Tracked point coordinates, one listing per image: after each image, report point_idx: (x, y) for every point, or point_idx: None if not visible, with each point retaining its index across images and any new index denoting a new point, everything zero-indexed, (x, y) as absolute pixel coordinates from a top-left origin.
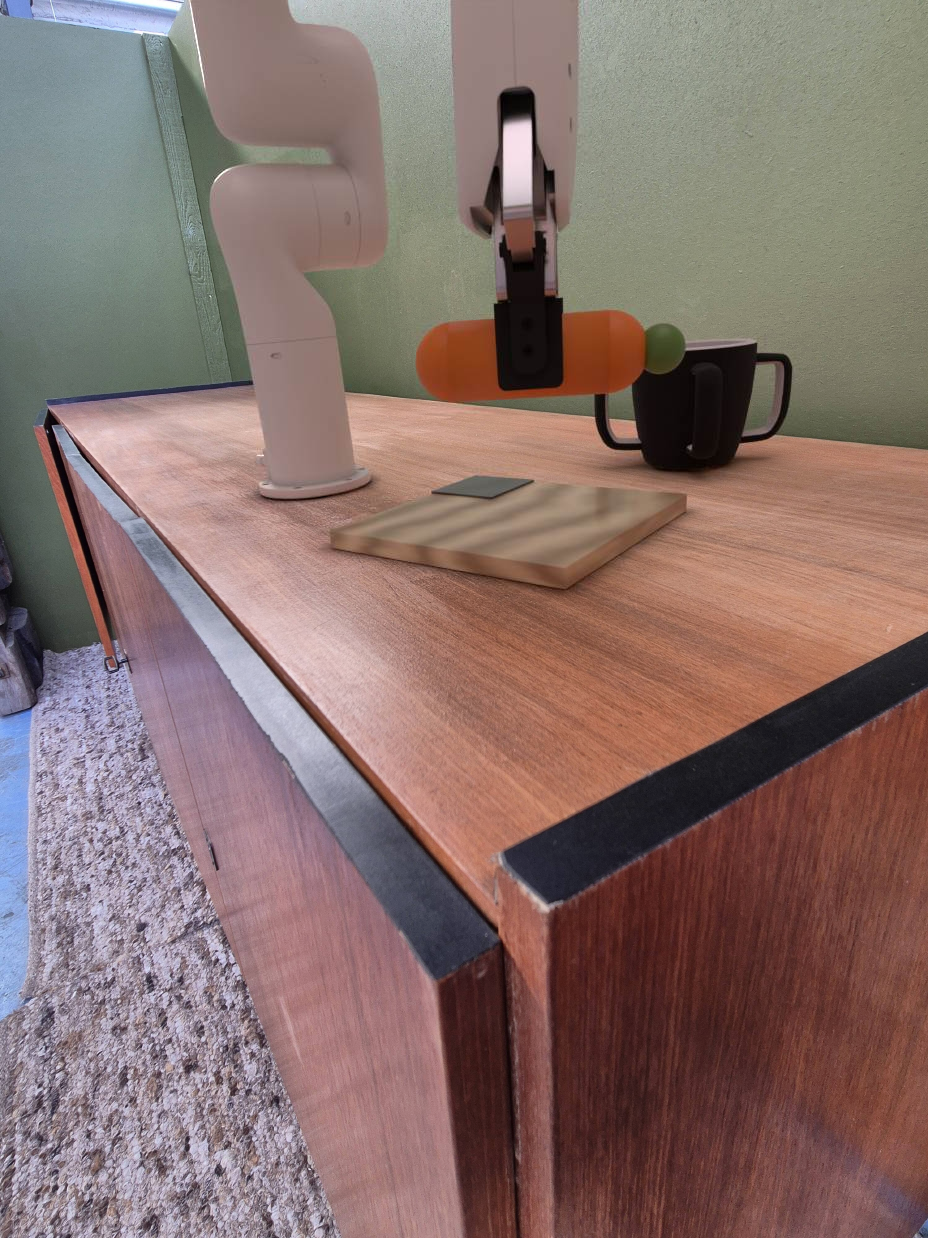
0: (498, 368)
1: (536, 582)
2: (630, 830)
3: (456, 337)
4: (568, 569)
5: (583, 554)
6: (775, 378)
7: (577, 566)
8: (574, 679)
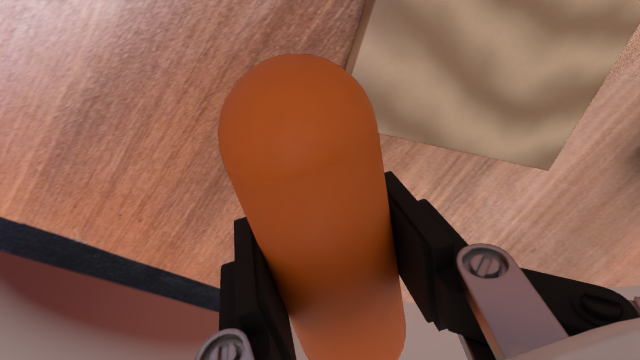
0: (234, 237)
1: None
2: (20, 245)
3: (249, 195)
4: None
5: None
6: None
7: None
8: (166, 174)
